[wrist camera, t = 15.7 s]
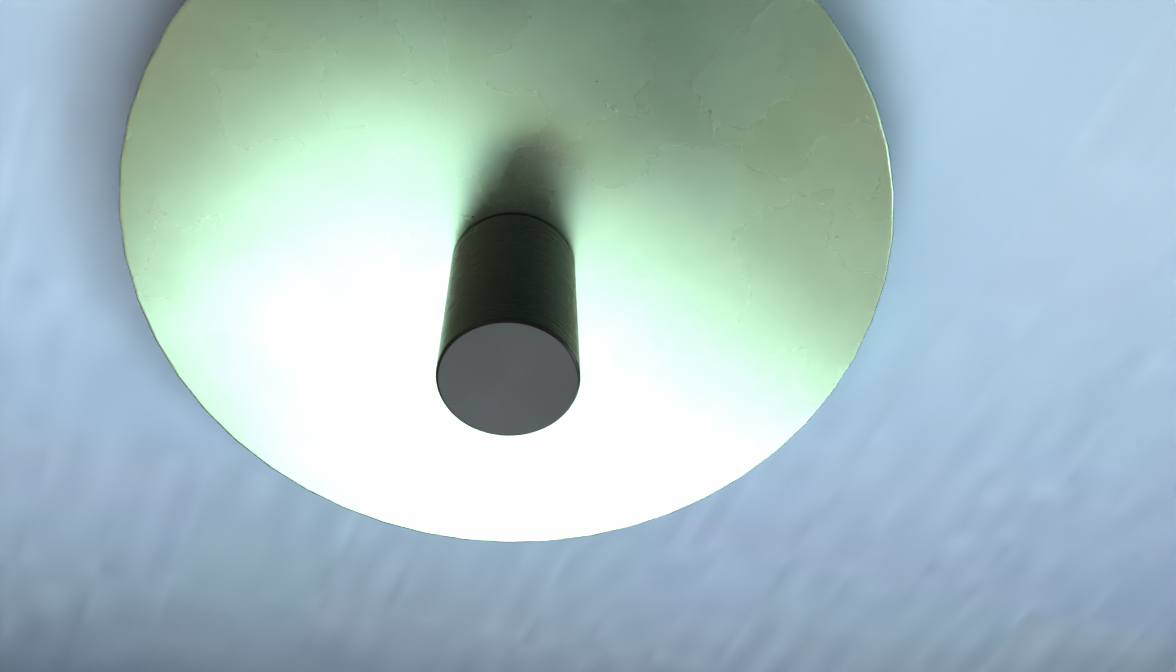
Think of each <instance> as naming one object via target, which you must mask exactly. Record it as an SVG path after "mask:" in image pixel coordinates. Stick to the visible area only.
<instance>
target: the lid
mask: <svg viewBox="0 0 1176 672" xmlns="http://www.w3.org/2000/svg"><path fill="white" fill-rule="evenodd" d="M119 216H120V223H121V231H122V238H123V246H124V253H125V258H126V261H127V265H128V268H129V272H130V275H131V279H132V282H133V286H134V289H135V293H136V296H137V299H138V301H139V304H140V306H141V308H142V310H143V313H144V315H145V317H146V319H147V322H148V324H149V326H150V328H151V331H152V333H153V335H154V337H155V339H156V341H157V343H158V344H159V346H160V348H161V349H162V351H163V352H164V354H165V356H166V357H167V359H168V361H169V362H170V364H171V366H172V367H173V369H174V370H175V372H176V374H177V375H178V377H179V378H180V379H181V381H182V382H183V383H184V384H185V386H186V387H187V388H188V389H189V390H190V392H191V393H192V394H193V395H194V397H195V398H196V399H197V400H198V402H199V403H200V404H201V405H202V407H203V408H204V409H205V410H206V411H207V412H208V413H209V414H210V415H211V416H212V417H213V418H214V419H215V420H216V421H217V422H218V423H219V424H220V425H221V426H222V427H223V428H224V429H225V430H226V431H227V432H228V433H229V434H230V435H231V436H232V437H233V438H234V439H235V440H236V441H237V442H239V443H240V444H241V445H243V446H244V447H245V448H246V449H248V450H249V451H250V452H252V453H253V454H254V455H255V456H257V457H258V458H259V459H261V460H262V461H263V462H264V463H266V464H267V465H268V466H269V467H271V468H273V469H274V470H276V471H277V472H279V473H281V474H282V475H284V476H285V477H287V478H289V479H290V480H292V481H294V482H295V483H297V484H298V485H300V486H302V487H303V488H305V489H306V490H309V491H311V492H313V493H315V494H317V495H319V496H321V497H323V498H325V499H327V500H329V501H331V502H333V503H335V504H337V505H339V506H342V507H344V508H346V509H349V510H352V511H354V512H357V513H360V514H362V515H365V516H368V517H371V518H373V519H376V520H379V521H381V522H384V523H388V524H392V525H396V526H400V527H404V528H407V529H411V530H415V531H419V532H423V533H428V534H434V535H440V536H447V537H453V538H459V539H465V540H480V541H496V542H531V541H553V540H560V539H568V538H576V537H584V536H591V535H596V534H600V533H604V532H609V531H613V530H618V529H622V528H627V527H631V526H634V525H637V524H640V523H643V522H646V521H649V520H652V519H655V518H658V517H661V516H664V515H667V514H670V513H672V512H674V511H676V510H679V509H681V508H683V507H685V506H688V505H690V504H692V503H694V502H696V501H699V500H701V499H703V498H705V497H707V496H709V495H711V494H712V493H714V492H716V491H718V490H719V489H721V488H723V487H725V486H726V485H728V484H730V483H731V482H733V481H735V480H737V479H738V478H740V477H742V476H743V475H744V474H746V473H747V472H749V471H750V470H751V469H753V468H754V467H755V466H757V465H758V464H759V463H761V462H762V461H764V460H765V459H766V458H768V457H769V456H770V455H772V454H773V453H774V452H776V451H777V450H778V449H779V448H780V447H781V446H782V445H783V444H784V443H785V442H786V441H787V440H788V439H790V438H791V437H792V436H793V435H794V434H795V433H796V432H797V431H798V430H799V429H800V428H801V427H802V426H804V425H805V424H806V422H807V421H808V420H809V419H810V418H811V416H812V415H813V414H814V413H815V412H816V411H817V409H818V408H819V407H820V406H821V405H822V403H823V402H824V401H825V400H826V399H827V398H828V396H829V395H830V394H831V393H832V391H833V390H834V388H835V387H836V385H837V384H838V382H839V381H840V379H841V378H842V376H843V375H844V373H845V371H846V370H847V368H848V367H849V365H850V364H851V362H852V361H853V359H854V357H855V355H856V353H857V351H858V349H859V347H860V345H861V343H862V341H863V339H864V337H865V335H866V333H867V331H868V328H869V326H870V324H871V322H872V320H873V317H874V314H875V311H876V308H877V304H878V301H879V298H880V295H881V292H882V289H883V286H884V283H885V280H886V274H887V268H888V263H889V257H890V251H891V245H892V239H893V219H894V186H893V178H892V170H891V162H890V154H889V146H888V142H887V139H886V135H885V132H884V128H883V125H882V121H881V118H880V114H879V111H878V107H877V104H876V100H875V98H874V96H873V93H872V91H871V89H870V87H869V85H868V82H867V80H866V78H865V76H864V74H863V71H862V69H861V67H860V65H859V63H858V61H857V58H856V56H855V54H854V53H853V51H852V50H851V48H850V47H849V45H848V43H847V42H846V40H845V39H844V37H843V36H842V34H841V33H840V31H839V30H838V28H837V27H836V25H835V24H834V22H833V21H832V19H831V17H830V16H829V14H828V13H827V11H826V10H825V9H824V7H823V6H822V5H821V3H820V2H819V1H818V0H186V1H185V3H184V4H183V5H182V7H181V8H180V9H179V10H178V12H177V13H176V14H175V16H174V17H173V18H172V20H171V21H170V22H169V23H168V25H167V27H166V29H165V31H164V33H163V35H162V36H161V38H160V40H159V42H158V44H157V46H156V47H155V49H154V51H153V53H152V55H151V57H150V59H149V60H148V62H147V64H146V66H145V68H144V70H143V73H142V76H141V79H140V82H139V85H138V87H137V90H136V93H135V96H134V99H133V102H132V105H131V107H130V110H129V113H128V117H127V123H126V128H125V134H124V140H123V145H122V151H121V156H120V162H119Z"/></svg>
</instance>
